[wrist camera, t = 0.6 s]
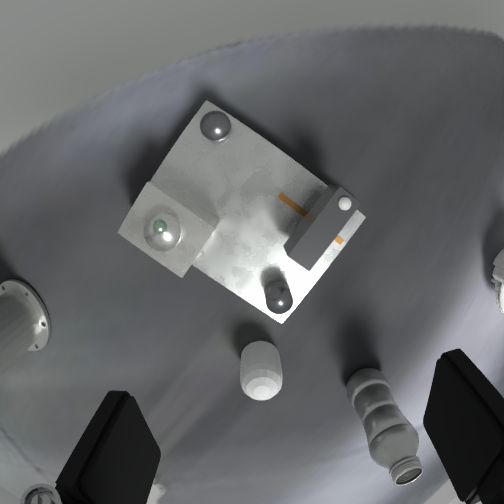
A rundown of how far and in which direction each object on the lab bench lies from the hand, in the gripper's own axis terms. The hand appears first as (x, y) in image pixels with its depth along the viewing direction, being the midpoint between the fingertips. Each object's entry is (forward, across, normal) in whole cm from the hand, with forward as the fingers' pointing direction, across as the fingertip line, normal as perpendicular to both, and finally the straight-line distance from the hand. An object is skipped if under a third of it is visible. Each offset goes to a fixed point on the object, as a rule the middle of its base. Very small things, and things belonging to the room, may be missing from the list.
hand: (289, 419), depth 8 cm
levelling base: (+30, +2, -2) cm, 30 cm away
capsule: (+30, +4, +18) cm, 35 cm away
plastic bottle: (+31, -11, +26) cm, 42 cm away
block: (+28, -5, -1) cm, 28 cm away
